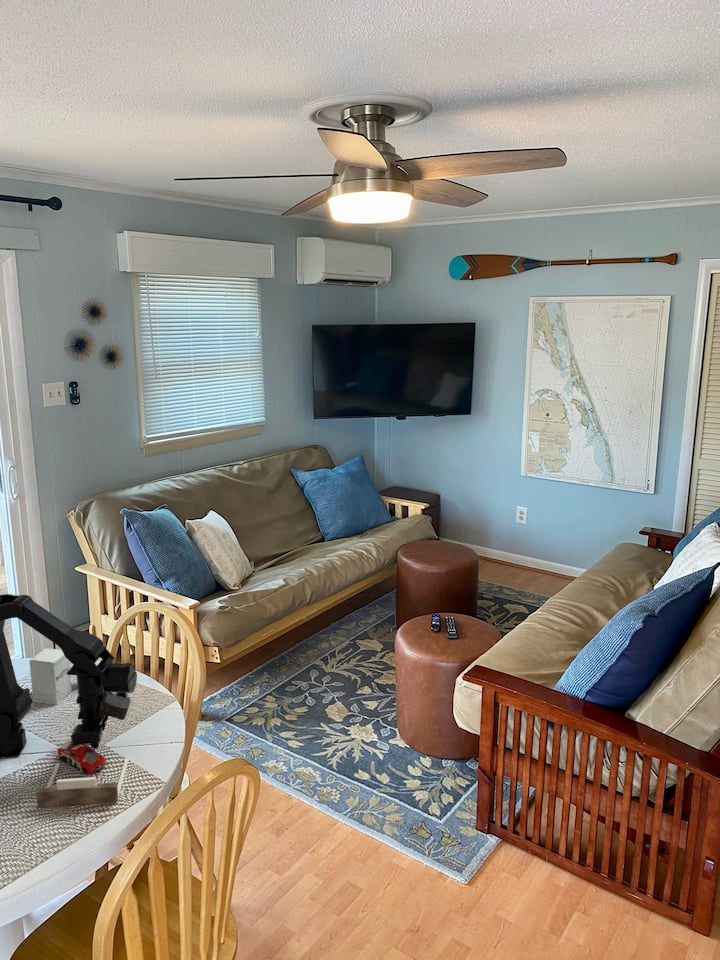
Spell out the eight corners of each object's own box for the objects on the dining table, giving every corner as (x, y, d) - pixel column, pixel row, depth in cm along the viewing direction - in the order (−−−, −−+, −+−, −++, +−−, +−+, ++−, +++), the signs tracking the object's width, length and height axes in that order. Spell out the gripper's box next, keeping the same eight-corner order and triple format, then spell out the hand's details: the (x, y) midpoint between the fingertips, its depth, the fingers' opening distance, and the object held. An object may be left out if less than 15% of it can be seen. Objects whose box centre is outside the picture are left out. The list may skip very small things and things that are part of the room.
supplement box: (56, 705, 195) (53, 662, 192) (32, 702, 197) (28, 659, 194) (72, 691, 202) (69, 650, 199) (48, 688, 204) (45, 647, 201)
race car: (110, 767, 171) (109, 752, 170) (90, 779, 167) (89, 764, 166) (74, 747, 178) (73, 733, 177) (55, 759, 174) (53, 744, 173)
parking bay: (37, 808, 156) (35, 784, 155) (56, 764, 171) (54, 741, 170) (116, 802, 159) (115, 778, 157) (128, 759, 173) (127, 737, 172)
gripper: (119, 709, 163) (124, 769, 167) (132, 668, 181) (136, 723, 185) (67, 712, 162) (73, 773, 166) (85, 670, 180) (90, 726, 183)
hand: (96, 747), depth 175 cm, fingers closed
